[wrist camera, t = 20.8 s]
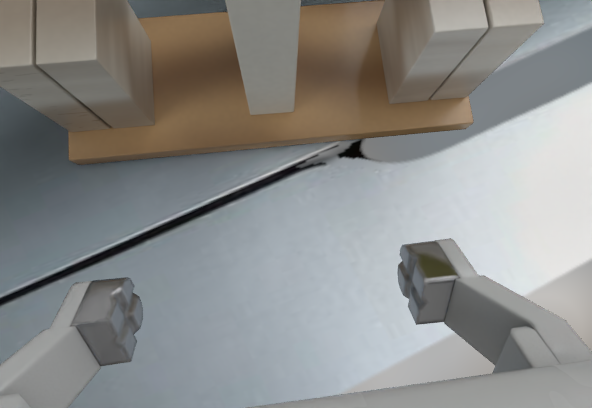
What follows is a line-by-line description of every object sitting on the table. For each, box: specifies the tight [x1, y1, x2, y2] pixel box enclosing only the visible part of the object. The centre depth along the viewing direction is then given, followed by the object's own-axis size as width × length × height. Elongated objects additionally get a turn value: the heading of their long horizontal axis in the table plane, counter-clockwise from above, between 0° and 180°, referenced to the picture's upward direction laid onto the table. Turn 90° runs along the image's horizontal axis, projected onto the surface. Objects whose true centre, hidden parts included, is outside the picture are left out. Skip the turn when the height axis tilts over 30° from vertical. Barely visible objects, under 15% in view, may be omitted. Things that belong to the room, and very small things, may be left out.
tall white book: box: [225, 0, 301, 115], centre depth 16 cm, size 5×2×10 cm, turn 5°
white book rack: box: [0, 0, 544, 165], centre depth 18 cm, size 8×22×8 cm, turn 96°
